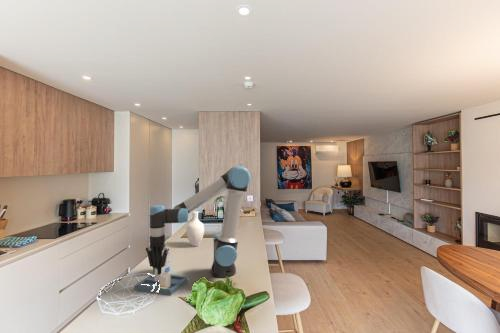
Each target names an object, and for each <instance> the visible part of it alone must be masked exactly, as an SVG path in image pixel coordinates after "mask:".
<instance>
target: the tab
mask: <svg viewBox="0 0 500 333" xmlns="http://www.w3.org/2000/svg"><path fill="white" fill-rule="evenodd" d="M159 284H160V287H167V288H168V287H170V286H171V273H168V272H165V273H164V274H162V275H161V276H159Z"/></svg>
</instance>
